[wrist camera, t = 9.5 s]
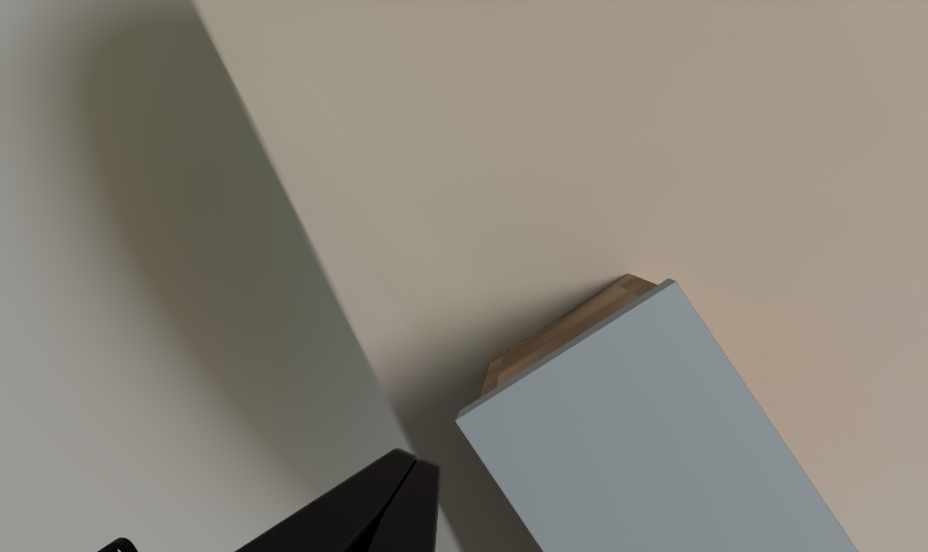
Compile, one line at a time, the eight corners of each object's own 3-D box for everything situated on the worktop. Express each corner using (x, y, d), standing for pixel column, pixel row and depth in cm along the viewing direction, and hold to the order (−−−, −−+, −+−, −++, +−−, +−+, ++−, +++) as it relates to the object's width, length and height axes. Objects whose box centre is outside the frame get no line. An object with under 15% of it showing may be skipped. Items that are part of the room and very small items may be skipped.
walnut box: (670, 631, 22) (724, 781, 16) (489, 363, 22) (475, 412, 16) (815, 551, 21) (931, 678, 15) (628, 273, 21) (668, 289, 15)
